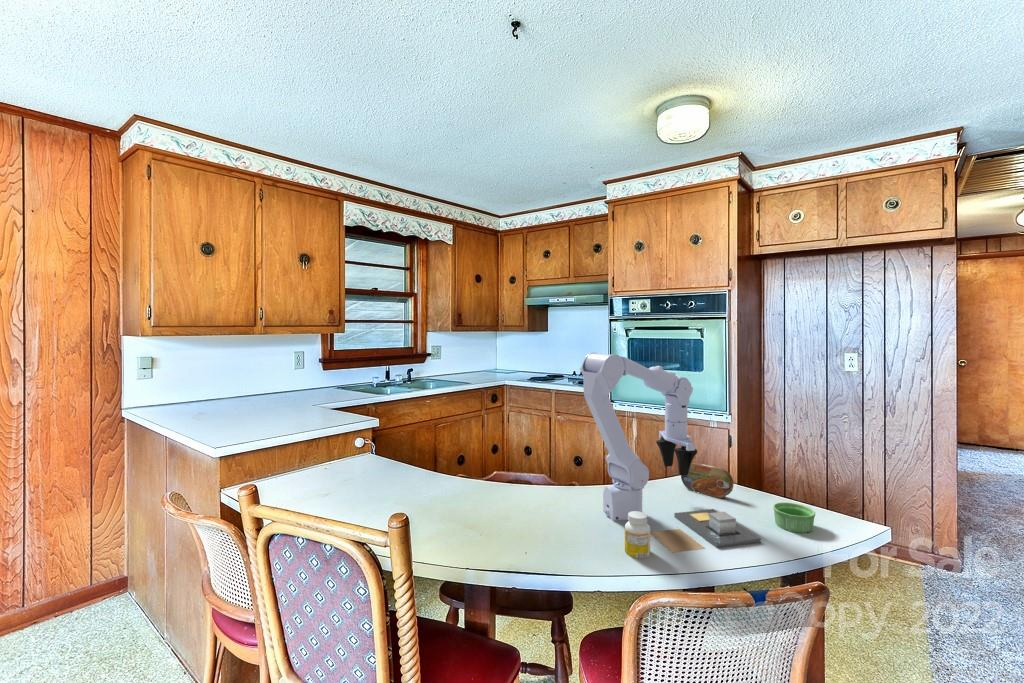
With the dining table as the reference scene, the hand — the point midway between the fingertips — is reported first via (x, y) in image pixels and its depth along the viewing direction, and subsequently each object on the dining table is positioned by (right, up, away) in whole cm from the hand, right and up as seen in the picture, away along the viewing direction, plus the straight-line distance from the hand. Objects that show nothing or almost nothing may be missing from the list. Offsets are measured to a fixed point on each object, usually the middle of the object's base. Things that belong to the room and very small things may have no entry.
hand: (675, 470), depth 129 cm
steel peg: (+4, -11, -19) cm, 23 cm away
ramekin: (+25, -11, -11) cm, 30 cm away
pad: (-7, -11, -22) cm, 26 cm away
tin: (+13, -10, +11) cm, 20 cm away
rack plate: (+4, -11, -16) cm, 20 cm away
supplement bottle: (-18, -12, -27) cm, 34 cm away
